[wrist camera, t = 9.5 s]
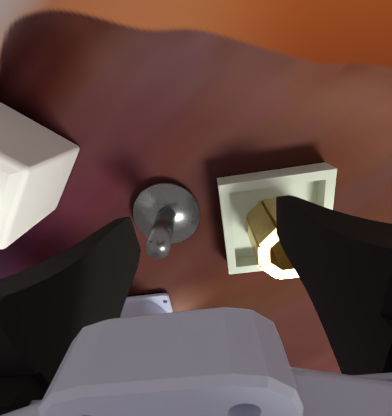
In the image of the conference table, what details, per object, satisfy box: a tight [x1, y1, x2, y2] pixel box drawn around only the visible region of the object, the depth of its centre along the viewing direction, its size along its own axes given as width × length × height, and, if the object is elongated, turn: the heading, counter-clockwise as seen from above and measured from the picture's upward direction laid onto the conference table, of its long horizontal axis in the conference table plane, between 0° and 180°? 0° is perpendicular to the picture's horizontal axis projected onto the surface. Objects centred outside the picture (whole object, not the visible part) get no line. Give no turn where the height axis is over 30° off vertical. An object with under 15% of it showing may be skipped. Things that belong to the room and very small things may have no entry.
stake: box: [133, 182, 200, 258], centre depth 20 cm, size 6×6×6 cm
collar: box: [246, 198, 299, 279], centre depth 21 cm, size 5×6×5 cm
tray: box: [217, 162, 337, 274], centre depth 22 cm, size 10×10×2 cm
